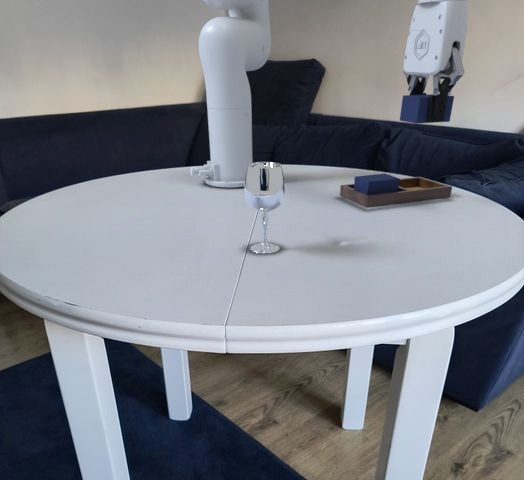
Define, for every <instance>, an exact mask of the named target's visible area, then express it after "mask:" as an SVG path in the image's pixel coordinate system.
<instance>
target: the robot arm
mask: <svg viewBox="0 0 524 480" xmlns="http://www.w3.org/2000/svg"><path fill="white" fill-rule="evenodd" d="M202 2H203V3H204V4H206V5H207V6H209V7H211V8H213V9H218V10H224V11H228V15H229V16H227V15H225V16H216V17H214V18H212V19H210V20H208V21H207V22H206V23H205V24H204V25H203V27H202V29H201V30H200V33H199V37H198V54H199V58H200V63H201V68H202V72H203V78H204V86H205V95H206V96H205V97H206V107H207V109H206V110H207V124H208V139H209V155H210V157H209V159H210V160H207V161H206V164H203V166H202V165H201V166H190V168H189V173H190V175H191V177H196V176H199V177H204V182H205V184H206V185H208V186H212V187H217V188H226V189H227V188H228V189H229V188H244V185H245V177H246V171H247V167H248V164H251V163H254V161H253V117H252V116H253V113H252V110H253V109H252V92H251V87H250V85H251V84H250V82H249V78H248V74H247V72H253V71H257V70H259V69H261V68H262V67H263V66H264V65H265V64H266V63H267V61H268V59H269V57H270V53H271V48H272V35H271V34H272V32H271V31H272V30H271V20H270V9H269V8H270V7H269V0H202ZM417 2H418V3H417V4H416V5H415V7H414V11H413V14H412V17H411V22H410V25H409V29H408V34H407V40H406V45H405V52H404V59H403V74H404V77H405V78H406V82H407V86H408V87H407V92H408V94H409V95H427V92H425V90H426V88H427V84H428V82H429V77H430V76H432V87H433V88H432V94H434V95H431V96H430V101H429V107H428V113H427V121H428V122H435V123H439V122H438V121H443V120H444V115H445V109H446V104H447V98H448V96H451V94H452V89H453V88H454V87H455V86H456V85H457V82H458V81H459V80H460V79H461V78H462V77H464V75H465V68H464V64H463V58H464V54H465V53H464V52H465V48H466V47H465V46H466V41H467V32H468V31H467V30H468V20H469V0H417ZM441 80H442V82H441Z"/></svg>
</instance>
